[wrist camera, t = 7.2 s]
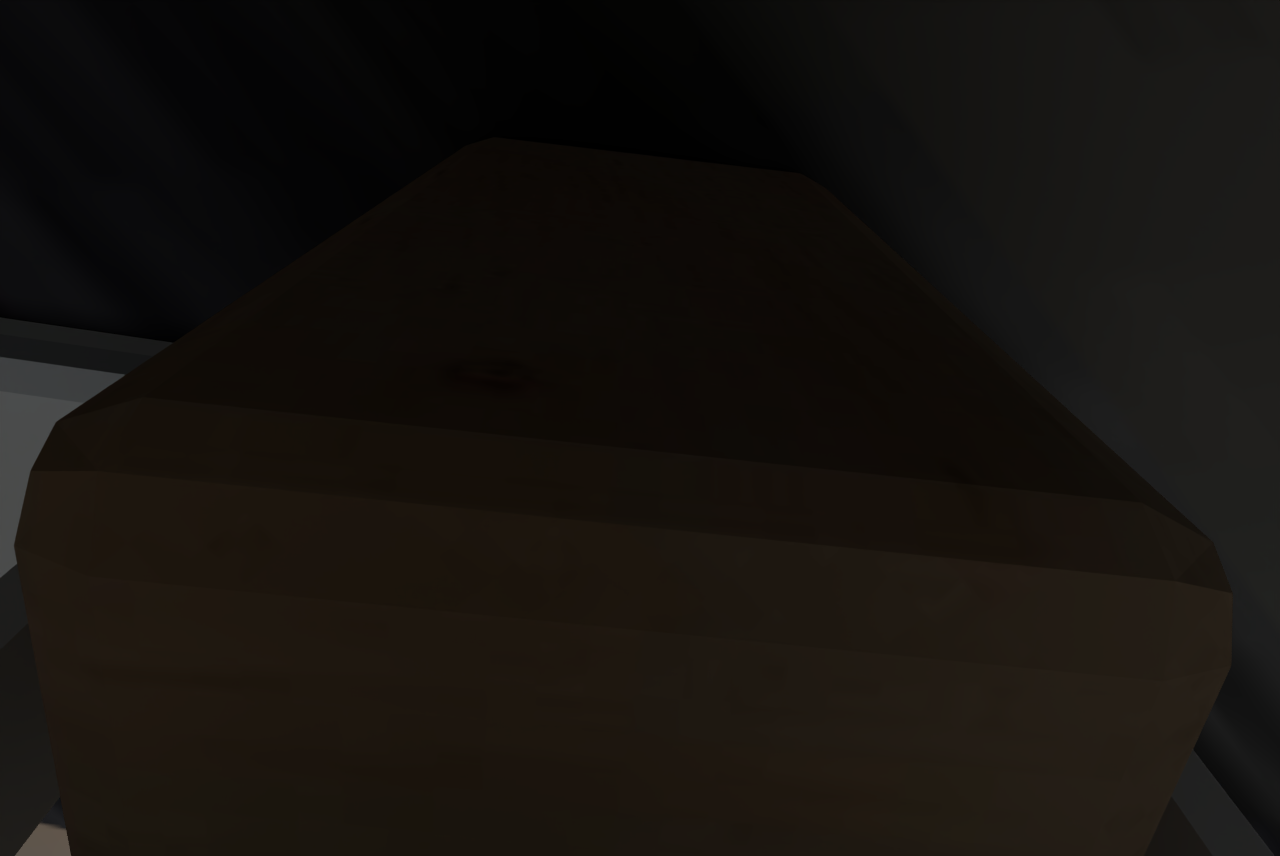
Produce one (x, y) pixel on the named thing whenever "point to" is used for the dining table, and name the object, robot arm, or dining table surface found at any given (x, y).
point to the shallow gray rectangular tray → (49, 397)
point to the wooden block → (607, 550)
